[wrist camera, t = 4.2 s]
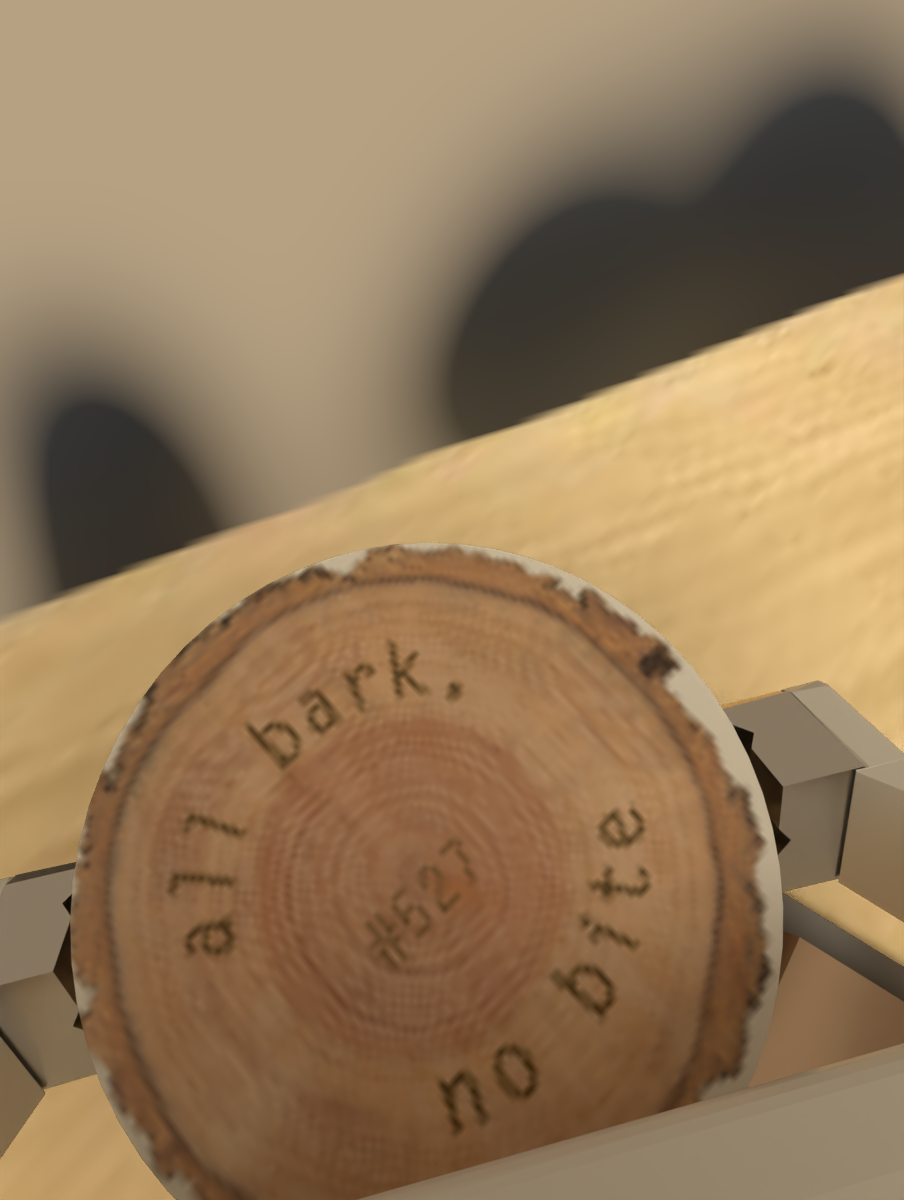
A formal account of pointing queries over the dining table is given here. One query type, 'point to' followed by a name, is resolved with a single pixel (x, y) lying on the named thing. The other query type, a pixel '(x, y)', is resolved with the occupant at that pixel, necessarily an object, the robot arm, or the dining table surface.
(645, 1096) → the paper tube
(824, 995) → the plinth
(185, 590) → the dining table surface
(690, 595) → the dining table surface
